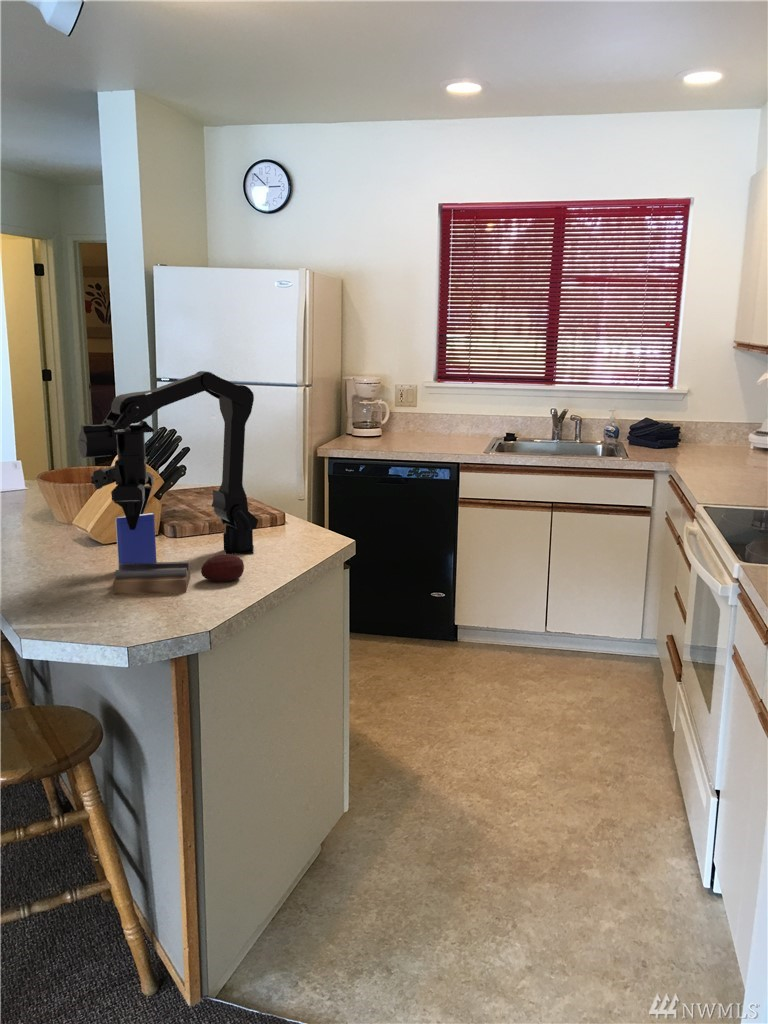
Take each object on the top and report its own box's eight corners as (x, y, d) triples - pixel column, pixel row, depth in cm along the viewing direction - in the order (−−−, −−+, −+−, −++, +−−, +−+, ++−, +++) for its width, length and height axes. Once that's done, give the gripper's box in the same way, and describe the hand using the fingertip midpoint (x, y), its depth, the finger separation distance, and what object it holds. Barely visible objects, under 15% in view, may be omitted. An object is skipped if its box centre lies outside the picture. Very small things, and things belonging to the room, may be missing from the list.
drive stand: (190, 578, 171) (189, 558, 170) (186, 593, 161) (185, 572, 160) (122, 581, 168) (121, 560, 167) (114, 596, 159) (112, 574, 158)
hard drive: (157, 568, 178) (154, 514, 175) (120, 573, 174) (116, 518, 171) (155, 566, 179) (152, 512, 177) (118, 571, 175) (114, 516, 172)
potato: (245, 585, 167) (244, 558, 165) (201, 588, 165) (200, 560, 164) (243, 575, 174) (243, 548, 173) (201, 577, 172) (200, 550, 171)
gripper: (100, 448, 179) (105, 515, 182) (82, 461, 161) (88, 536, 164) (152, 447, 180) (155, 514, 184) (140, 460, 162) (144, 534, 166)
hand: (135, 524), depth 174 cm, fingers open, 9 cm apart
